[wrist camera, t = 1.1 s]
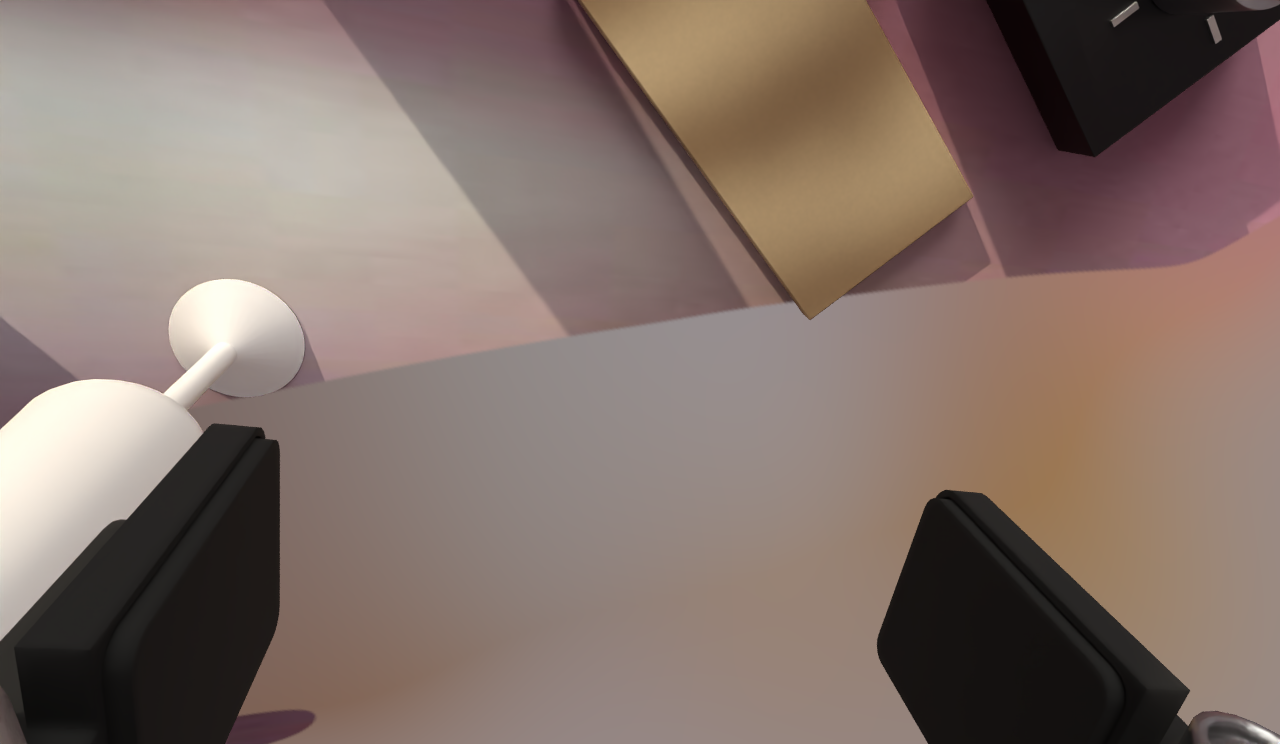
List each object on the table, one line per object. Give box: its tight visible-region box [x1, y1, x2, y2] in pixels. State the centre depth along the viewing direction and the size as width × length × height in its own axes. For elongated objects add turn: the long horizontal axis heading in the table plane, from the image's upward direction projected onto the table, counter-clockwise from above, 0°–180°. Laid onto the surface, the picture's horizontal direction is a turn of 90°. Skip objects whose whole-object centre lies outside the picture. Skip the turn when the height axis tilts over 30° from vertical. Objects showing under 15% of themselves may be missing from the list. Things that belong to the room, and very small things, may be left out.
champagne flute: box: [0, 279, 305, 641], centre depth 28 cm, size 7×7×24 cm
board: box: [577, 0, 973, 320], centre depth 38 cm, size 22×11×1 cm, turn 38°
